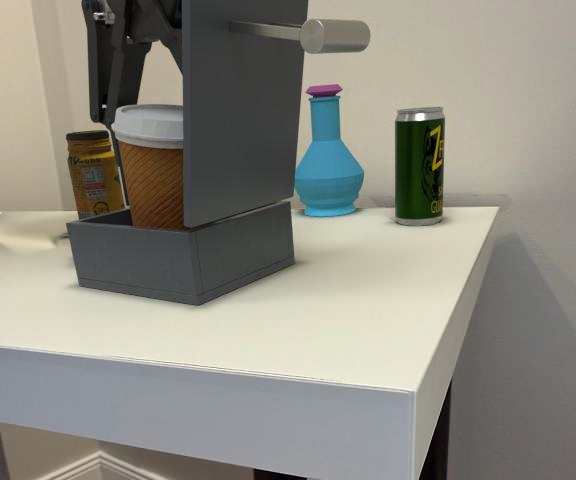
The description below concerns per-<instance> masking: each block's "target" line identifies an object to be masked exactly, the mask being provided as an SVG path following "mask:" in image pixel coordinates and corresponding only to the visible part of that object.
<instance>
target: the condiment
mask: <svg viewBox="0 0 576 480" xmlns="http://www.w3.org/2000/svg"><path fill="white" fill-rule="evenodd" d="M110 139H111V137H110V132H109V130H108V129H99V130H98V129H96V130H95V129H94V130H93V129H92V130H84V131H82V130H81V131H73V132H67V133H66V134H65V140H66V143H67V149H66V150H67V152H68V156H67V160H66V161H67V166H68V167H67V168H68V171H69V177H70V182H71V186H72V191H73V197H74V202H75V206H76V212H77V216H78V217H77V218H78V220H80V219H84V218H88V217H92V216H96V215H100V214H104V213H108V212H112V211H116V210H121V209H125V208H126V204H125V199H124V193H123V187H122V183H121V182H122V181H121V175H120V170H119V167H118V166H117V163H116V161H115V156H114V155H115V154H114V150H113V149H112V147H113V144H112V141H111V140H110ZM59 236H65V237H69V236H68V232H63V233H61V234H59Z"/></svg>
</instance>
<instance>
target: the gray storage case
mask: <svg viewBox="0 0 576 480" xmlns="http://www.w3.org/2000/svg"><path fill="white" fill-rule="evenodd" d="M292 216H293V215H292V204H291V201H290V200H281V201H278V202H275V203H271V204H268V205H265V206H261V207H258V208H255V209H252V210H248V211H245V212H242V213H238V214H235V215H232V216H229V217H225V218H222V219H219V220H215V221H212V222H209V223H208V224H207V225H204V226H201V227H197V228H194V229H191V230H176V229H163V228H151V227H138V226H133V222H132V216H131V210H130V206H128V207H125V209H121V210H116V211H112V212H108V213H104V214H100V215H96V216H92V217H88V218H84V219H80V220H79V219H75V220H72V221H68V222H66V223H65V227H66V231H67V232H68V236H67V237H68V240H69V245H70V250H71V254H72V259H73V263H74V268H75V273H76V277H77V282H78V286H79V287H83V288H89V289H96V290H101V291H107V292H113V293H121V294H126V295H132V296H133V295H134V296H139V297H145V298H151V299H157V300H164V301H169V302H175V303H182V304H189V305H194V306H200V305H202V304H205V303H207V302H210V301H212V300H214V299H216V298H218V297H221V296H223V295H226V294H227V293H230V292H233V291H235V290H237V289H239V288H241V287H244V286H246V285H248V284H251V283H253V282H255V281H258V280H260V279H263V278H265V277H267V276H270V275H272V274H274V273H277V272H279V271H281V270H283V269H285V268H288V267H290V266H293V265H294V264H296V262H295V261H296V260H295V245H294V232H293V230H294V229H293V217H292ZM67 232H66V233H67Z"/></svg>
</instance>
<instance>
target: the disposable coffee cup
mask: <svg viewBox="0 0 576 480" xmlns="http://www.w3.org/2000/svg"><path fill="white" fill-rule="evenodd" d="M111 128H112V130H113V131H114V132H115V137H116V138H117V139H118V143H119V149H120V154H121V160H122V166H123V172H124V177H125V182H126V188H127V194H128V200H129V205H130V206H129V207H130V210H131V216H132V222H133V226H138V227H151V228H163V229H176V230H191V229H194V228H197V227H201V226H204V225H207V224H208V223H205V224H202V225H199V226H196V227H192V228H190V227H187V226H184V179H183V104H182V105H181V104H167V103H165V104H163V103H146V104H145V103H144V104H143V103H142V104H141V103H140V104H139V103H138V104H137V105H128V106H123V107H120V108H117V110H116V115H115V122H114V123H113V124H112V125H111Z"/></svg>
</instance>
